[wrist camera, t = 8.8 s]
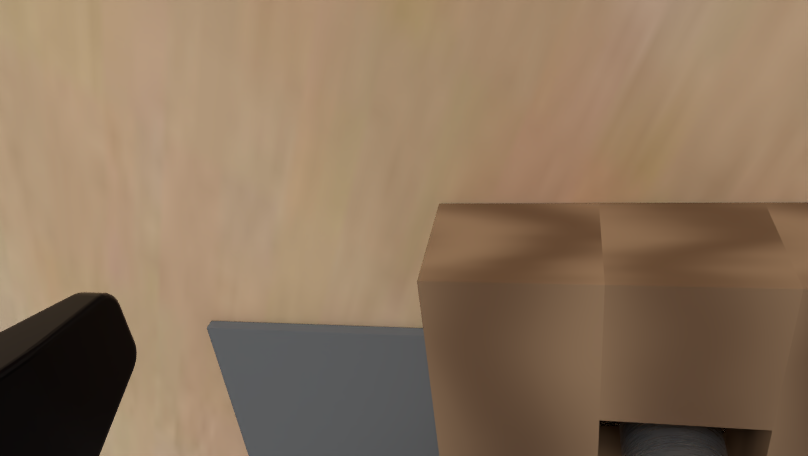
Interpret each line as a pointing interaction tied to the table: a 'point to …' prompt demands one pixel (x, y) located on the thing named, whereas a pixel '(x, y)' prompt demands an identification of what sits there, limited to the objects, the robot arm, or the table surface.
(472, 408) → the hole block
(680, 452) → the peg
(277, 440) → the panel
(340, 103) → the table surface
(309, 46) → the table surface
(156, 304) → the table surface
